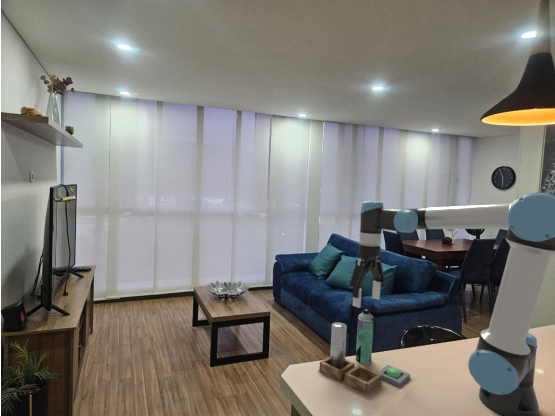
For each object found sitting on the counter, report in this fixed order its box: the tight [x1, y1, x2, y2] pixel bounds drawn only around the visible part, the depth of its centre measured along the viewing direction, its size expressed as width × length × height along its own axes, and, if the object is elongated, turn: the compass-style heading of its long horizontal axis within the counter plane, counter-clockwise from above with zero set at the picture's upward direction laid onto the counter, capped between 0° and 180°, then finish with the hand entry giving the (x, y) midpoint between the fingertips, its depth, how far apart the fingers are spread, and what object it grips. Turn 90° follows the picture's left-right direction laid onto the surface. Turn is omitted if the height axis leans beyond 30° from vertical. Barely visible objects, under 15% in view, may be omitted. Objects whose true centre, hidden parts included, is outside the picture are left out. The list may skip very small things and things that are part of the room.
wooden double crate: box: [317, 356, 384, 396], centre depth 117 cm, size 19×10×4 cm, turn 46°
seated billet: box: [329, 321, 348, 369], centre depth 120 cm, size 5×5×16 cm
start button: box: [386, 366, 401, 379], centre depth 118 cm, size 4×4×3 cm
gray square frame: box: [377, 364, 411, 388], centre depth 118 cm, size 8×8×2 cm
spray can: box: [355, 308, 375, 365], centre depth 128 cm, size 6×6×20 cm
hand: (366, 302), depth 128 cm, fingers open, 13 cm apart
